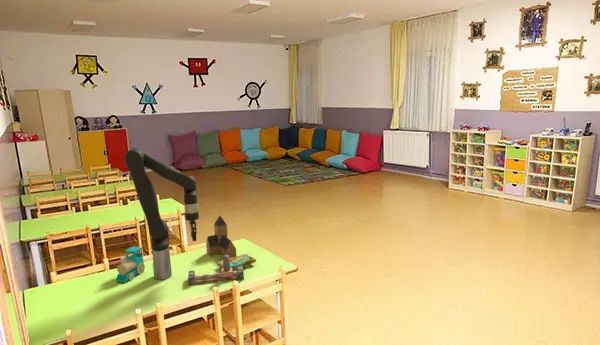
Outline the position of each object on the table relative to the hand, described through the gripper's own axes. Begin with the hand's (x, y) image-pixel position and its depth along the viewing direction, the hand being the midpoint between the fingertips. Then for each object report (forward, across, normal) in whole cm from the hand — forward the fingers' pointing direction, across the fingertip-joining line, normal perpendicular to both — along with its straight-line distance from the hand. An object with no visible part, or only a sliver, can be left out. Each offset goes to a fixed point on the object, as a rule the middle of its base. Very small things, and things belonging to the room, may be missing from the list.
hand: (193, 238), depth 232 cm
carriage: (+20, +11, +16) cm, 28 cm away
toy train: (+21, -12, -36) cm, 44 cm away
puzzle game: (+22, -2, +24) cm, 32 cm away
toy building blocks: (+20, -22, +18) cm, 35 cm away
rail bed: (+22, +10, +10) cm, 26 cm away
